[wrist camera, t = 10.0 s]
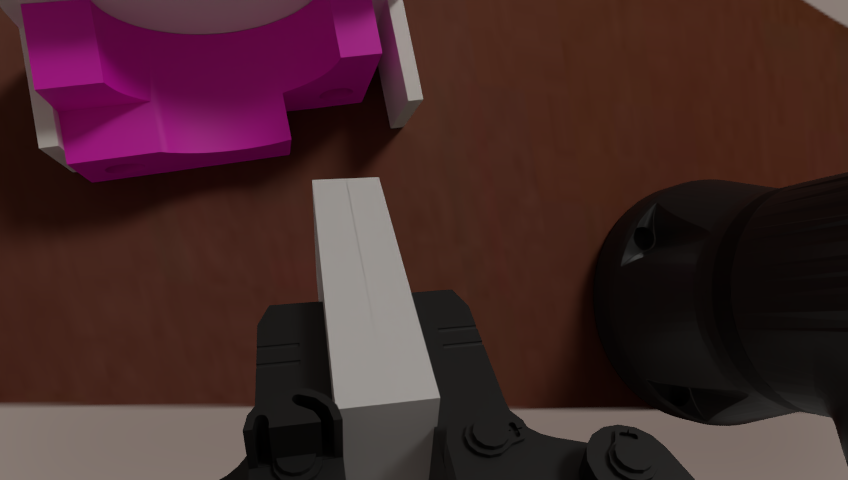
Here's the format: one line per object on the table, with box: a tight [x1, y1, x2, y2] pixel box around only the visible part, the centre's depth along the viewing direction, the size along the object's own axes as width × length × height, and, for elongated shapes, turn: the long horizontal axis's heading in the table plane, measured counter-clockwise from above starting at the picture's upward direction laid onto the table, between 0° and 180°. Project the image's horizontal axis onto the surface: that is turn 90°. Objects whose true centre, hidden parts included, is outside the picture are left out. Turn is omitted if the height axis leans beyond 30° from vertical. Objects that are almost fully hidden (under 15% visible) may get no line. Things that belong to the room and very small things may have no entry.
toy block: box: [20, 0, 382, 183], centre depth 32 cm, size 15×6×8 cm, turn 102°
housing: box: [0, 0, 423, 172], centre depth 30 cm, size 7×18×11 cm, turn 102°
